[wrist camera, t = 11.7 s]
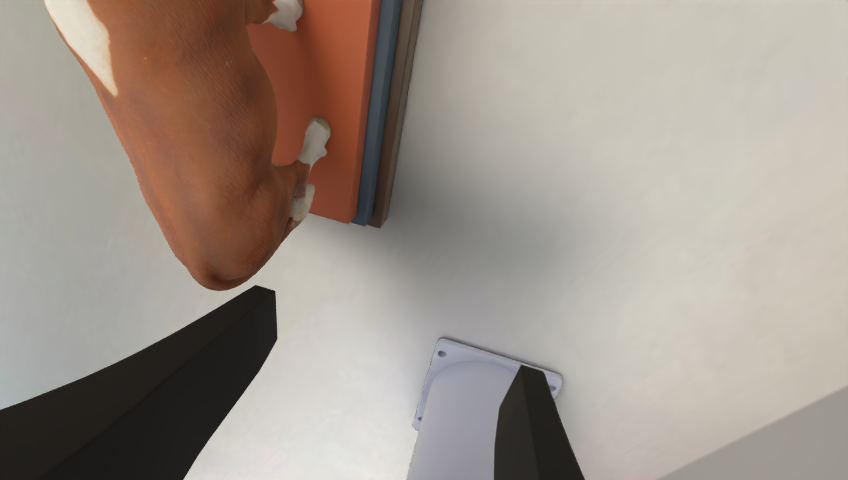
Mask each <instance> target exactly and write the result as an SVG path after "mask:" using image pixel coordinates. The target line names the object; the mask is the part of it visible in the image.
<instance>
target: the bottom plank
mask: <svg viewBox="0 0 848 480" xmlns="http://www.w3.org/2000/svg"><path fill="white" fill-rule="evenodd" d="M422 1H423V0H402V4H401V11H400V19H399V26H398V33H397V40H396V47H395V54H394V62H393V69H392V76H391V83H390V90H389V97H388V105H387V112H386V119H385V126H384V133H383V140H382V147H381V155H380V162H379V169H378V176H377V183H376V190H375V198H374V205H373V212H372V218H371V219H370V221H369V222H368V223H367V224H366V225H370V226H373V227H376V228H381V226H382V225H383V224H384V222H385V221H386V219H387V215H388V209H389V203H390V197H391V191H392V185H393V179H394V172H395V166H396V160H397V154H398V148H399V142H400V136H401V130H402V124H403V117H404V111H405V105H406V99H407V93H408V87H409V81H410V75H411V69H412V62H413V56H414V50H415V44H416V38H417V32H418V26H419V20H420V14H421V7H422Z"/></svg>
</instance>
